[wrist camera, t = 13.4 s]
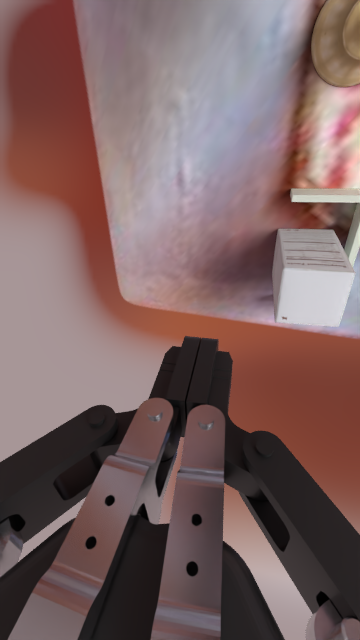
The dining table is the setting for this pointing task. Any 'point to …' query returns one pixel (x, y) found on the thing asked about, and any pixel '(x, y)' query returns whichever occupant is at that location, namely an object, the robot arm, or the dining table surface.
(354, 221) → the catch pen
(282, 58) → the dining table surface
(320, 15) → the hand bell
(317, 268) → the supplement box
